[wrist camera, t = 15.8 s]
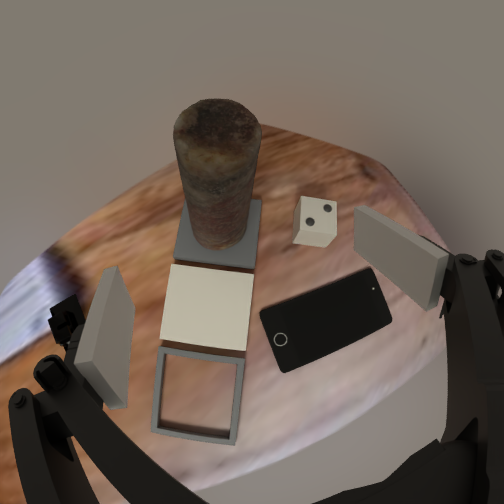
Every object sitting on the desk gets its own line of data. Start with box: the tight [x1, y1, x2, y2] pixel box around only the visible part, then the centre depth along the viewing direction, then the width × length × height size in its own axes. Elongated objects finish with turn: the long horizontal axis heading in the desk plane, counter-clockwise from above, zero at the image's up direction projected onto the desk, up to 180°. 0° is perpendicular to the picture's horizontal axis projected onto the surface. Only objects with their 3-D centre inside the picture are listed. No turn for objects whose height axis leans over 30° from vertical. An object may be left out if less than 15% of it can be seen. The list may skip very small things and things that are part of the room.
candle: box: [173, 99, 262, 251], centre depth 30 cm, size 8×7×20 cm
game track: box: [151, 199, 262, 446], centre depth 36 cm, size 11×34×1 cm, turn 174°
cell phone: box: [260, 268, 392, 373], centre depth 38 cm, size 9×18×1 cm, turn 110°
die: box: [292, 196, 337, 248], centre depth 40 cm, size 5×5×5 cm
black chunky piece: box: [48, 294, 86, 352], centre depth 33 cm, size 12×7×5 cm, turn 31°
